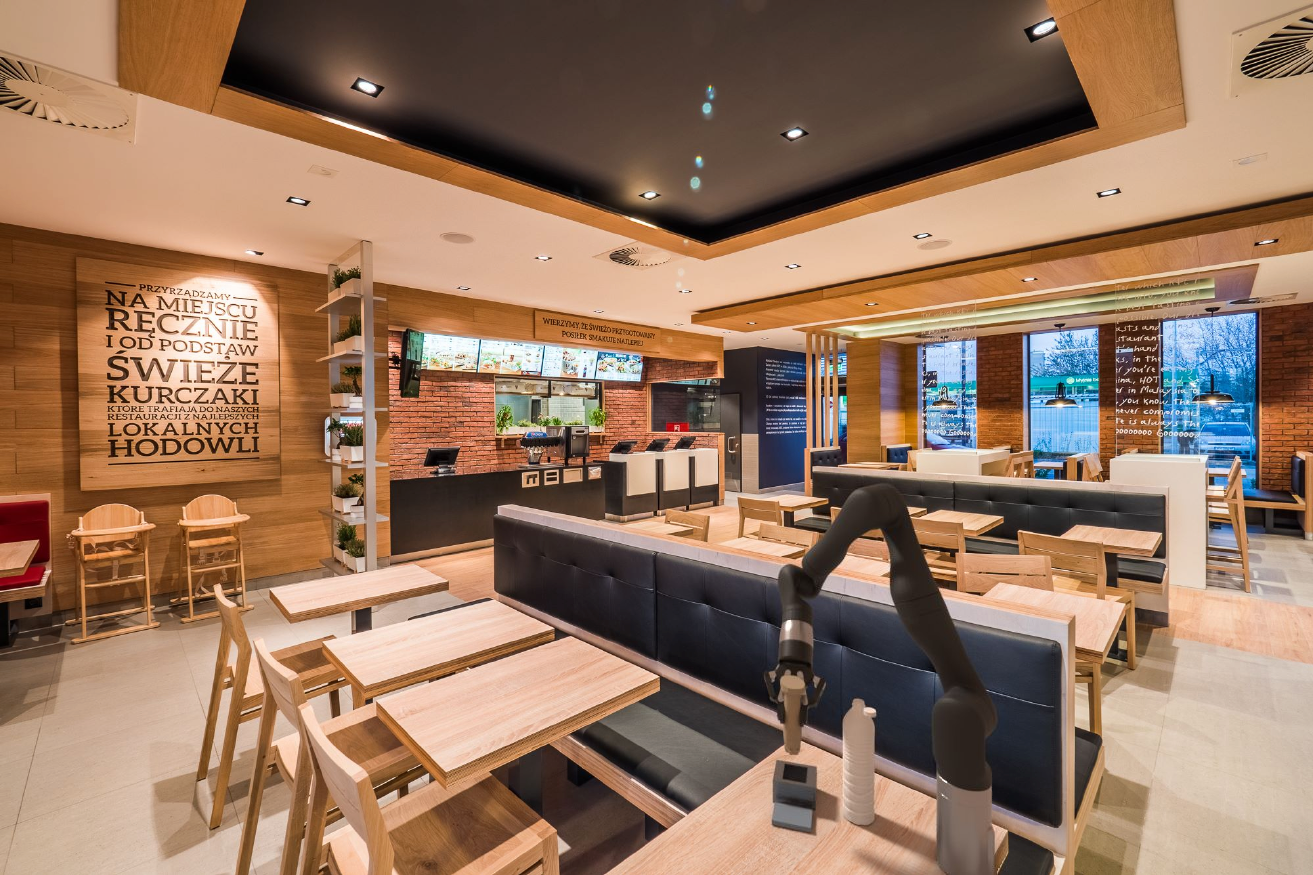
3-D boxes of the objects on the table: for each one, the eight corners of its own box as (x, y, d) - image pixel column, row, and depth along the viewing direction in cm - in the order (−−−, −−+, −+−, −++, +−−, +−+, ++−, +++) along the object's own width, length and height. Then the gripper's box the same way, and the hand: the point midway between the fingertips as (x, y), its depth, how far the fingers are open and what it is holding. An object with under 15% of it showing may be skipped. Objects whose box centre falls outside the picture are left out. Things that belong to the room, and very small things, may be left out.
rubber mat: (812, 814, 123) (812, 809, 123) (811, 832, 117) (811, 827, 117) (774, 806, 125) (774, 802, 125) (771, 824, 119) (771, 819, 119)
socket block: (816, 787, 132) (816, 766, 132) (815, 810, 124) (815, 787, 124) (776, 780, 134) (776, 759, 134) (772, 802, 127) (772, 779, 126)
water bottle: (836, 807, 125) (837, 694, 124) (863, 804, 126) (864, 692, 126) (858, 835, 116) (858, 714, 116) (887, 831, 117) (887, 711, 117)
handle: (784, 760, 118) (784, 689, 117) (777, 743, 124) (777, 675, 124) (807, 760, 118) (808, 688, 118) (799, 743, 124) (799, 675, 124)
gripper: (763, 634, 130) (756, 712, 118) (828, 641, 126) (826, 723, 114) (766, 648, 135) (759, 725, 124) (828, 656, 131) (827, 735, 119)
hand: (791, 723), depth 119 cm, fingers closed on handle, 3 cm apart
